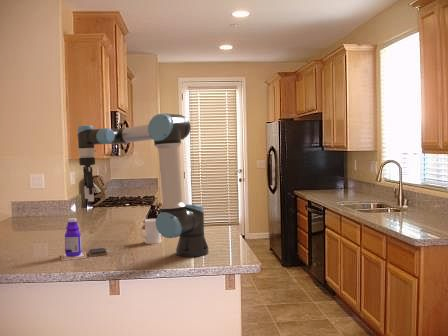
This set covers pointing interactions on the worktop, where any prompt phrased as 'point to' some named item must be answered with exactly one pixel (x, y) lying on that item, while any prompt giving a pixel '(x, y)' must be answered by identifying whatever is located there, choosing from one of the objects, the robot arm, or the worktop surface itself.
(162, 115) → the robot arm
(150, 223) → the mug
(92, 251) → the ink pad
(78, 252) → the bottle
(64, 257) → the print board
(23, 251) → the worktop surface
